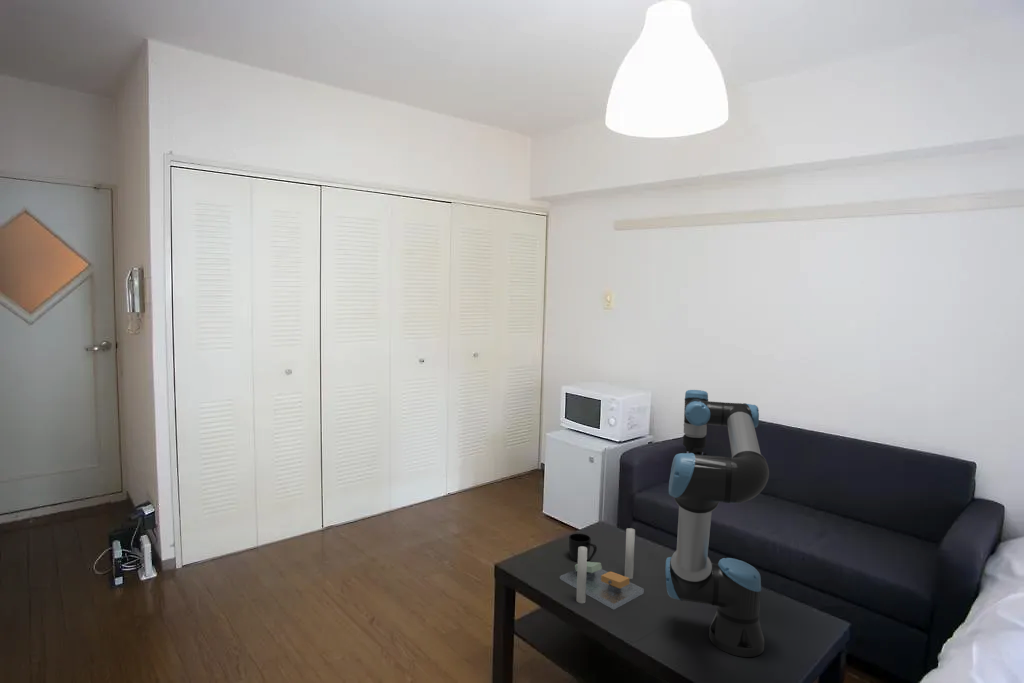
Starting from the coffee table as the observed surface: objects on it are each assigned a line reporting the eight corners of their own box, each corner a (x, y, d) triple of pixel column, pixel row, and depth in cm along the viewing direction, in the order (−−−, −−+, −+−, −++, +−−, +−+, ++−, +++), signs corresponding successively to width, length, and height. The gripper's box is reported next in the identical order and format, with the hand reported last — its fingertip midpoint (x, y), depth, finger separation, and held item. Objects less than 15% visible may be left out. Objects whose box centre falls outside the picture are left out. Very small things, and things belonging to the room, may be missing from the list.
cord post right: (634, 579, 202) (636, 530, 201) (629, 581, 200) (631, 532, 199) (627, 576, 205) (629, 527, 204) (622, 578, 203) (624, 529, 202)
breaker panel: (643, 594, 192) (643, 584, 192) (613, 609, 181) (614, 598, 181) (589, 568, 210) (590, 559, 210) (559, 581, 199) (560, 571, 199)
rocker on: (602, 568, 199) (601, 562, 199) (591, 573, 195) (590, 567, 195) (586, 566, 205) (585, 560, 205) (574, 571, 201) (573, 565, 201)
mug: (587, 572, 207) (587, 547, 206) (563, 560, 216) (564, 536, 215) (601, 566, 212) (602, 541, 211) (578, 555, 221) (579, 531, 221)
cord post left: (587, 602, 186) (589, 548, 185) (581, 605, 184) (583, 550, 183) (580, 598, 188) (582, 545, 187) (574, 601, 186) (576, 547, 185)
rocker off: (630, 583, 190) (630, 577, 190) (619, 589, 186) (618, 582, 186) (611, 576, 196) (611, 570, 196) (600, 581, 192) (600, 575, 192)
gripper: (695, 430, 201) (692, 496, 202) (674, 435, 193) (671, 503, 194) (714, 434, 195) (711, 501, 197) (694, 439, 187) (691, 509, 188)
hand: (691, 502), depth 195 cm, fingers closed
